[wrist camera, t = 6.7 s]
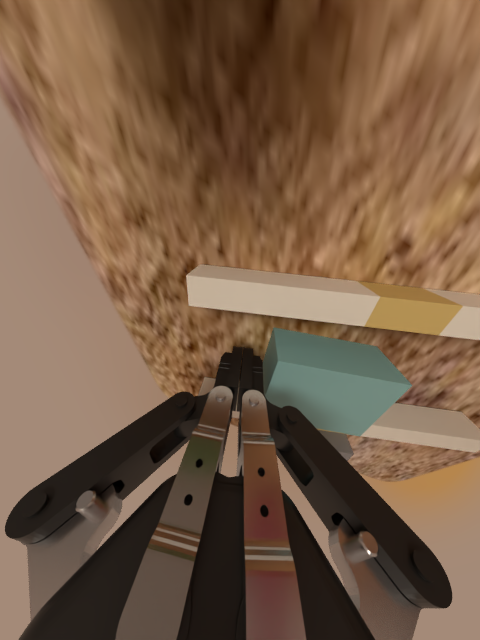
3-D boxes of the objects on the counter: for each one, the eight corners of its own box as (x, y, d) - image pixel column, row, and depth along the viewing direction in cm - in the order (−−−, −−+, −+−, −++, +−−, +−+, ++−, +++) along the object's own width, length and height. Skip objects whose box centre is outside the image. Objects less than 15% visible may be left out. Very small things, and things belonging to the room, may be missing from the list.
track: (597, 307, 10) (764, 352, 7) (431, 435, 18) (472, 486, 15) (200, 264, 11) (174, 284, 8) (205, 403, 19) (193, 443, 16)
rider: (373, 343, 14) (412, 385, 10) (339, 391, 17) (360, 436, 13) (273, 324, 14) (278, 360, 10) (257, 376, 17) (257, 417, 13)
